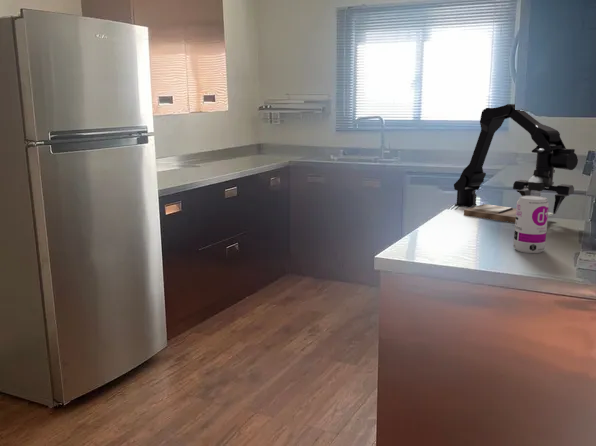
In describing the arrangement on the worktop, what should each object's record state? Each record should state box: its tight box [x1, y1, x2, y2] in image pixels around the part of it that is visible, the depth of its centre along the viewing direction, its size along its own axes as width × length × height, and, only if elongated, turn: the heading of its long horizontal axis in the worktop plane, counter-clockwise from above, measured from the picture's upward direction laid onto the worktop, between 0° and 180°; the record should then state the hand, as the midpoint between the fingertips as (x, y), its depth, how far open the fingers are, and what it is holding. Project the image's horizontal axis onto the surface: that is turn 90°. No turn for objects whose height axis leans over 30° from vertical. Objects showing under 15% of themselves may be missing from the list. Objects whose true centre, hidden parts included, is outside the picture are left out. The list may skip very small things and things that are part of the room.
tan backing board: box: [463, 203, 517, 224], centre depth 213 cm, size 22×16×3 cm
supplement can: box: [512, 195, 550, 254], centre depth 165 cm, size 8×8×15 cm
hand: (540, 212), depth 204 cm, fingers open, 9 cm apart
